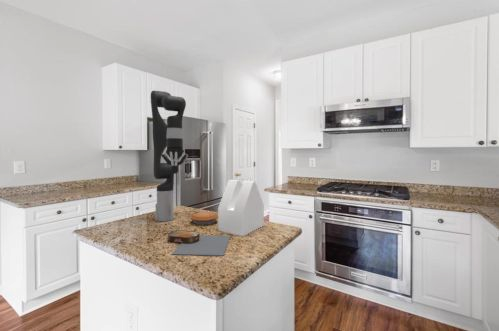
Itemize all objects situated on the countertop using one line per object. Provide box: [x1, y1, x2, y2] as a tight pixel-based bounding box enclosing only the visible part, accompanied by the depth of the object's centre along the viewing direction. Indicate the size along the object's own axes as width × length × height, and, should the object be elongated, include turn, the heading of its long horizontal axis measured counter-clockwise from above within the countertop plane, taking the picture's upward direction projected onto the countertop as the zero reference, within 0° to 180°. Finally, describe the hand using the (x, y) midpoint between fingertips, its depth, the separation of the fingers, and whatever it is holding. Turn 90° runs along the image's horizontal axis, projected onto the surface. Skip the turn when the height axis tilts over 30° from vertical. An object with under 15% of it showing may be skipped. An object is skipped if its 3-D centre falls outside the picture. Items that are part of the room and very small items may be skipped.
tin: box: [167, 229, 201, 244], centre depth 109 cm, size 15×3×8 cm
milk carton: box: [217, 179, 265, 237], centre depth 126 cm, size 19×15×25 cm
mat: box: [171, 234, 232, 257], centre depth 104 cm, size 20×22×1 cm
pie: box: [189, 211, 218, 226], centre depth 138 cm, size 15×16×5 cm
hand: (175, 173), depth 119 cm, fingers closed
